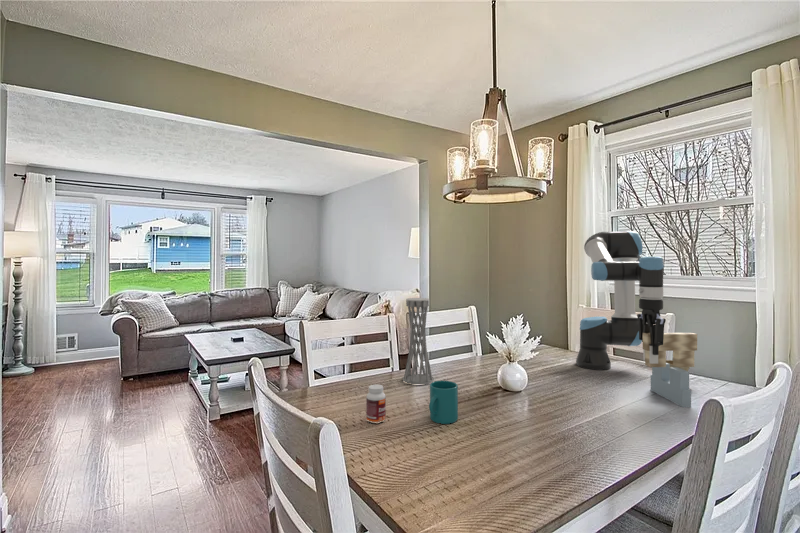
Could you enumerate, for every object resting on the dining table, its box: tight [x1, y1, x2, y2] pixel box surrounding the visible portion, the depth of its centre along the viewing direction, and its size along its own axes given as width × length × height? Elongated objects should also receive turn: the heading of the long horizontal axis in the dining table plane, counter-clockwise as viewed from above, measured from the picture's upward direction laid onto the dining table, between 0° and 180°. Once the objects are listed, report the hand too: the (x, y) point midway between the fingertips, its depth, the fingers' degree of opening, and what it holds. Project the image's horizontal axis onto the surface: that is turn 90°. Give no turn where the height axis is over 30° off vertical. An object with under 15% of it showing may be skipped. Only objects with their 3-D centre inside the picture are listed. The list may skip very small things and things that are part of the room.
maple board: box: [642, 332, 698, 368], centre depth 148 cm, size 18×3×12 cm, turn 89°
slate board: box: [650, 363, 692, 408], centre depth 148 cm, size 18×3×12 cm, turn 179°
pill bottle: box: [365, 384, 387, 422], centre depth 129 cm, size 6×6×11 cm
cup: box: [428, 380, 459, 425], centre depth 129 cm, size 9×12×11 cm
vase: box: [401, 297, 435, 385], centre depth 171 cm, size 14×13×35 cm
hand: (650, 361), depth 148 cm, fingers closed on maple board, 3 cm apart
